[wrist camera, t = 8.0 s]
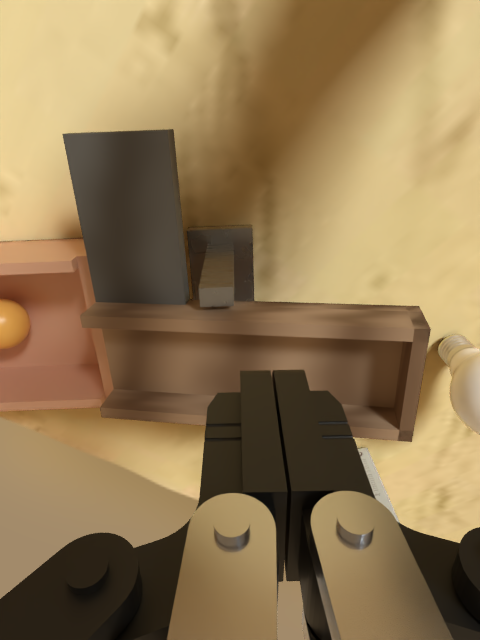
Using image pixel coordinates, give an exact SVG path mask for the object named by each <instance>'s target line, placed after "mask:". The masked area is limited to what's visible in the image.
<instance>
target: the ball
mask: <svg viewBox="0 0 480 640" xmlns="http://www.w3.org/2000/svg"><path fill="white" fill-rule="evenodd" d="M30 325H31V323H30V317H29V315H28V313H27V311H26V310H25V308H24V307H23V306H21V305H20V304H19V303H17V302H15V301H12V300H8V299H0V349H7V348H11V347H14V346H16V345H18V344H20V343H21V342H22V341H23V340H24V339H25V338H26V337H27V335H28V333H29V330H30Z"/></svg>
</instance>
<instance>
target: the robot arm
mask: <svg viewBox="0 0 480 640" xmlns="http://www.w3.org/2000/svg"><path fill="white" fill-rule="evenodd" d="M284 562H285V571H286V580H287V581H300V585H301V592H302V599H303V614H302V628H303V634H304V639H305V640H480V527H479V528H475V529H473V530H471V531H469V532H468V533H467V534H465V535H464V537H463V538H462V540H461V542H460V543H457V542H453V541H449V540H445V539H442V538H438V537H434V536H430V535H426V534H423V533H420V532H417V531H414V530H412V529H410V528H407V527H405V526H404V525H402V524H400V523H399V522H397V521H396V519H395V517H394V516H393V514H392V513H391V512H390V511H389V509H387V508H386V507H385V506H384V505H383V504H382V503H380V502H379V501H378V500H376V498H375V496H374V493H373V491H372V488H371V485H370V482H369V479H368V477H367V474H366V471H365V468H364V465H363V463H362V460H361V457H360V454H359V451H358V449H357V446H356V443H355V440H354V439H353V435H352V432H351V429H350V426H349V424H348V421H347V418H346V415H345V412H344V409H343V407H342V404H341V403H340V402H339V401H338V400H337V399H336V398H335V397H334V396H333V395H332V394H331V393H330V392H329V391H328V390H325V391H310V389H309V385H308V382H307V378H306V374H305V371H304V369H299V370H273V372H272V375H271V370H252V371H240V392H226V393H217V394H216V396H215V397H214V399H213V400H212V401H211V403H210V404H209V406H208V407H207V418H206V430H205V442H204V453H203V464H202V476H201V487H200V498H199V503H198V506H197V509H196V511H195V513H194V514H193V516H192V517H191V519H190V520H189V521H188V522H187V523H186V524H185V525H184V526H183V527H182V528H181V529H179V530H178V531H177V532H175V533H173V534H171V535H170V536H168V537H165V538H163V539H160V540H157V541H154V542H152V543H148V544H146V545H142V546H139V547H136V548H133V547H132V545H131V544H130V543H129V542H128V541H127V540H125V539H124V538H122V537H121V536H118V535H116V534H111V533H95V534H90V535H86V536H83V537H81V538H78V539H76V540H74V541H72V542H71V543H69V544H67V545H66V546H65V547H64V548H62V549H61V550H60V551H58V552H57V553H56V554H55V555H53V556H52V557H51V558H50V559H49V560H47V561H46V562H45V563H44V564H42V565H41V566H40V567H39V568H38V569H36V570H35V571H34V572H33V573H32V574H30V575H29V576H28V577H27V578H25V579H24V580H23V581H22V582H20V583H19V584H18V585H17V586H16V587H14V588H13V589H12V590H11V591H10V592H8V593H7V594H6V595H5V596H3V597H2V598H1V599H0V640H277V601H278V582H281V581H283V573H284Z"/></svg>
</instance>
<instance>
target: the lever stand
mask: <svg viewBox="0 0 480 640" xmlns="http://www.w3.org/2000/svg"><path fill="white" fill-rule="evenodd" d="M187 236H188V247H189V257H190V268H191V279H192V290H193V300H200V307H220V306H234V301H254V275H253V237H252V225H237V226H213V227H189V228H188V229H187Z"/></svg>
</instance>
